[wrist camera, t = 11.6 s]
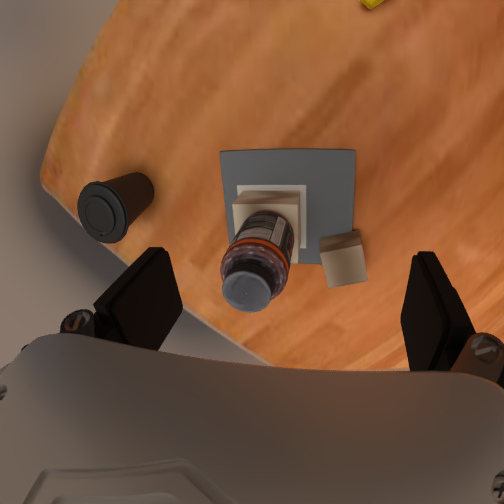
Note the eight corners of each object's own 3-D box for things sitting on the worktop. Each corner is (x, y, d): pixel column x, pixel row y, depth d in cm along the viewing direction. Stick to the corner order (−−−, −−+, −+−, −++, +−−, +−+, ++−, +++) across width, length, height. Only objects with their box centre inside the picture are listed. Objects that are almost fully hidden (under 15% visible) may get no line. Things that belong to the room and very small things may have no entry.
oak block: (358, 230, 36) (361, 244, 33) (364, 263, 38) (367, 280, 35) (319, 238, 38) (319, 253, 34) (328, 271, 40) (328, 288, 36)
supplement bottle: (290, 262, 34) (276, 329, 25) (239, 252, 35) (208, 314, 25) (299, 213, 31) (289, 270, 22) (244, 203, 32) (210, 254, 22)
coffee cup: (137, 225, 43) (98, 258, 35) (107, 183, 41) (63, 207, 32) (173, 199, 40) (135, 229, 31) (141, 151, 38) (95, 170, 29)
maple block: (300, 190, 35) (297, 204, 31) (300, 243, 39) (297, 263, 34) (242, 190, 37) (232, 204, 33) (247, 241, 40) (238, 260, 36)
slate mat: (354, 149, 32) (355, 150, 32) (348, 262, 39) (349, 265, 39) (220, 151, 36) (219, 152, 35) (232, 258, 43) (231, 260, 42)
